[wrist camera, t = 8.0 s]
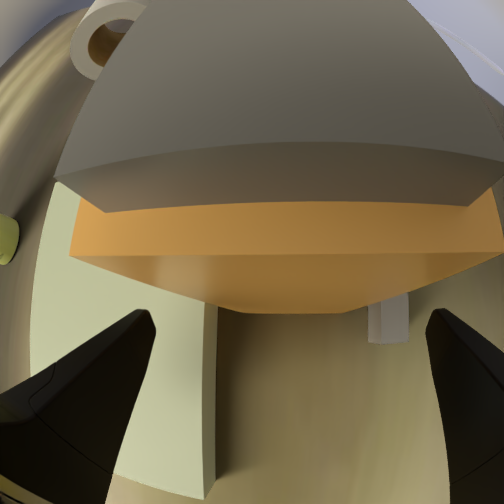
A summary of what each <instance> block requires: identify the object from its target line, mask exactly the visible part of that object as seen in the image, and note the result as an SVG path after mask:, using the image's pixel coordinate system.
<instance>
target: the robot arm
mask: <svg viewBox="0 0 504 504" xmlns="http://www.w3.org/2000/svg"><path fill="white" fill-rule="evenodd" d="M425 334H426V340H427V346H428V351H429V357H430V364H431V370H432V376H433V381H434V385H435V389H436V393H437V398H438V403H439V408H440V413H441V418H442V424H443V430H444V436H445V443H446V450H447V459H448V469H449V482H450V504H504V353H503V352H502V351H501V350H500V349H498V348H497V347H496V346H495V345H493V344H492V343H491V342H490V341H488V340H487V339H486V338H484V337H483V336H482V335H481V334H479V333H478V332H477V331H475V330H474V329H473V328H471V327H470V326H469V325H467V324H466V323H465V322H463V321H462V320H461V319H459V318H458V317H457V316H455V315H454V314H453V313H451V312H450V311H448V310H447V309H445V308H440V309H435V310H433V312H432V314H431V317H430V319H429V322H428V325H427V327H426V332H425ZM155 337H156V327H155V324H154V322H153V319H152V316H151V314H150V312H149V311H148V310H147V309H135V310H134V311H132V312H131V313H129V314H128V315H126V316H124V317H123V318H121V319H120V320H118V321H117V322H115V323H114V324H112V325H110V326H109V327H107V328H106V329H104V330H103V331H101V332H100V333H98V334H97V335H95V336H94V337H92V338H91V339H89V340H87V341H86V342H84V343H83V344H81V345H80V346H78V347H77V348H75V349H74V350H72V351H71V352H69V353H68V354H66V355H65V356H63V357H62V358H60V359H59V360H57V362H54V363H53V364H51V365H50V366H48V367H47V368H45V369H43V370H42V371H40V372H39V373H37V374H35V375H34V376H32V377H30V378H29V379H27V380H25V381H23V382H21V383H20V384H18V385H16V386H14V387H12V388H11V389H9V390H7V391H5V392H3V393H1V394H0V504H105V501H106V497H107V494H108V490H109V486H110V483H111V479H112V475H113V472H114V468H115V465H116V462H117V458H118V455H119V452H120V448H121V445H122V442H123V439H124V436H125V433H126V430H127V427H128V424H129V421H130V418H131V415H132V412H133V409H134V406H135V403H136V400H137V397H138V394H139V392H140V389H141V386H142V383H143V381H144V378H145V375H146V372H147V368H148V364H149V360H150V356H151V352H152V348H153V344H154V341H155Z"/></svg>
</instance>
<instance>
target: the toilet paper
mask: <svg viewBox="0 0 504 504" xmlns="http://www.w3.org/2000/svg"><path fill="white" fill-rule="evenodd" d="M151 1H152V0H96V1H95V2H94V3H93V5H92V6H91V7H90V9H89V10H88V12H87V13H86V15H85V16H84V18H83V19H82V21H81V22H80V24H79V25H78V27H77V28H76V30H75V32H74V34H73V36H72V39H71V43H70V55H71V59H72V62H73V64H74V66H75V67H76V68H77V70H78V71H79V72H80V73H82V74H83V75H84V76H86V77H88V78H90V79H92V80H95V81H96V80H97V78H98V76H99V75H100V73H101V71H102V70H103V68H104V66H105V65H106V63H107V61H108V60H109V58H110V57H111V55H112V53H113V52H114V50H115V49H116V47H117V46H118V44H119V43H120V42H121V40H122V39H123V37H124V36H125V34H126V33H116V32H113V31H111V30H109V29H108V28H107V27H106V26H105V23H107V22H109V21H112V20H116V19H129V20H133V21H136V20H137V18H138V17H139V16H140V15H141V13H142V12H143V11H144V10H145V8H146V7H147V6H148V5H149V4H150V2H151Z"/></svg>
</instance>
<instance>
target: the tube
mask: <svg viewBox="0 0 504 504" xmlns="http://www.w3.org/2000/svg"><path fill="white" fill-rule="evenodd" d="M18 239H19V226H18V223H17V221H16V220H14V219H12V218H10V217H8V216H6V215H4V214H2V213H0V264H2V265H5V264H7V263H8V262H9V261H10V260H11V258H12V257H13V255H14V252H15V250H16V247H17V244H18Z"/></svg>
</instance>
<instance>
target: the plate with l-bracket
mask: <svg viewBox="0 0 504 504" xmlns="http://www.w3.org/2000/svg"><path fill="white" fill-rule="evenodd" d="M80 200H81V196H79V195H78V194H76V193H75V192H74V191H72V190H71V189H69V188H68V187H66V186H65V185H63V184H62V183H61V182H56V183H55V186H54V189H53V192H52V196H51V199H50V203H49V207H48V210H47V214H46V218H45V223H44V227H43V231H42V236H41V241H40V246H39V252H38V257H37V264H36V270H35V277H34V286H33V295H32V306H31V323H30V369H31V377H32V376H34V375H35V374H37V373H39V372H40V371H42V370H43V369H45V368H47V367H48V366H50V365H51V364H53V363H54V362H57V360H59V359H60V358H62V357H63V356H65V355H66V354H68V353H69V352H71V351H72V350H74V349H75V348H77V347H78V346H80V345H81V344H83V343H84V342H86V341H87V340H89V339H91V338H92V337H94V336H95V335H97V334H98V333H100V332H101V331H103V330H104V329H106V328H107V327H109V326H110V325H112V324H114V323H115V322H117V321H118V320H120V319H121V318H123V317H124V316H126V315H128V314H129V313H131V312H132V311H134V310H135V309H147V310H148V311H149V312H150V314H151V316H152V319H153V322H154V324H155V327H156V337H155V341H154V344H153V348H152V352H151V356H150V360H149V364H148V368H147V372H146V375H145V378H144V381H143V383H142V386H141V389H140V392H139V394H138V397H137V400H136V403H135V406H134V409H133V412H132V415H131V418H130V421H129V424H128V427H127V430H126V433H125V436H124V439H123V442H122V445H121V448H120V452H119V455H118V458H117V462H116V465H115V468H114V472H113V473H115V474H118V475H120V476H123V477H125V478H128V479H131V480H133V481H136V482H139V483H142V484H145V485H148V486H151V487H154V488H158V489H161V490H165V491H168V492H172V493H176V494H180V495H184V496H188V497H192V498H197V499H202V500H204V499H205V497H206V496H207V494H208V493H209V491H210V489H211V488H212V486H213V484H214V483H215V481H216V477H215V394H216V350H217V321H218V306H216V305H213V304H209V303H206V302H202V301H199V300H196V299H192V298H189V297H186V296H182V295H179V294H176V293H173V292H170V291H166V290H163V289H160V288H157V287H154V286H151V285H148V284H145V283H142V282H139V281H136V280H133V279H130V278H127V277H125V276H122V275H119V274H116V273H113V272H110V271H108V270H105V269H102V268H99V267H97V266H94V265H91V264H89V263H86V262H83V261H81V260H78V259H76V258H73V257H71V256H69V251H70V246H71V240H72V235H73V230H74V225H75V221H76V216H77V212H78V208H79V204H80ZM368 342H370V343H376V344H381V345H382V344H393V343H404V342H409V301H408V292H407V293H404V294H401V295H398V296H395V297H392V298H389V299H386V300H383V301H380V302H377V303H374V304H371V305H368Z"/></svg>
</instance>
